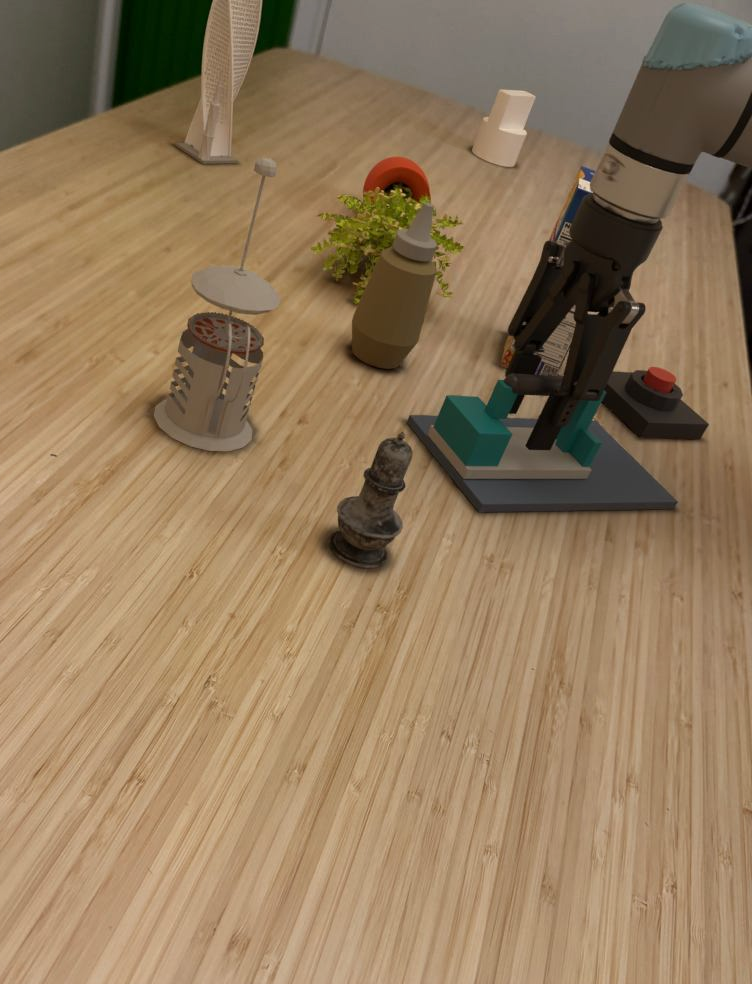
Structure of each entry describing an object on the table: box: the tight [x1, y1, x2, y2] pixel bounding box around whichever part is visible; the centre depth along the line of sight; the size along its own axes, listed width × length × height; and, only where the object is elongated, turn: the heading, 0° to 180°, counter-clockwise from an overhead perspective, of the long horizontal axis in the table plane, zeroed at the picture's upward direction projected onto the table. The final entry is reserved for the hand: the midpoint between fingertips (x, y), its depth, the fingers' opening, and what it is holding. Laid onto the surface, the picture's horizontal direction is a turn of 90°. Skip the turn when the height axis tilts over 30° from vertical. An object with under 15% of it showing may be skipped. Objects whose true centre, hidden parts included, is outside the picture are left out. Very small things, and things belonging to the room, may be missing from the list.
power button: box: [642, 366, 678, 393], centre depth 127 cm, size 4×4×2 cm
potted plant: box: [310, 156, 465, 304], centre depth 143 cm, size 19×14×45 cm
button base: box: [601, 369, 710, 440], centre depth 129 cm, size 12×10×4 cm
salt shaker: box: [328, 431, 414, 569], centre depth 87 cm, size 6×6×12 cm
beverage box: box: [500, 165, 596, 376], centre depth 126 cm, size 7×11×22 cm, turn 164°
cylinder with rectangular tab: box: [471, 89, 537, 168], centre depth 202 cm, size 9×9×12 cm
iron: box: [427, 374, 606, 479], centre depth 106 cm, size 16×8×10 cm, turn 112°
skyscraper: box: [174, 0, 263, 165], centre depth 153 cm, size 8×8×28 cm
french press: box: [153, 156, 281, 452], centre depth 92 cm, size 10×12×25 cm
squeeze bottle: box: [351, 202, 438, 370], centre depth 116 cm, size 8×8×18 cm
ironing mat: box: [406, 414, 679, 513], centre depth 112 cm, size 16×26×1 cm, turn 112°
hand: (520, 429), depth 107 cm, fingers open, 6 cm apart
